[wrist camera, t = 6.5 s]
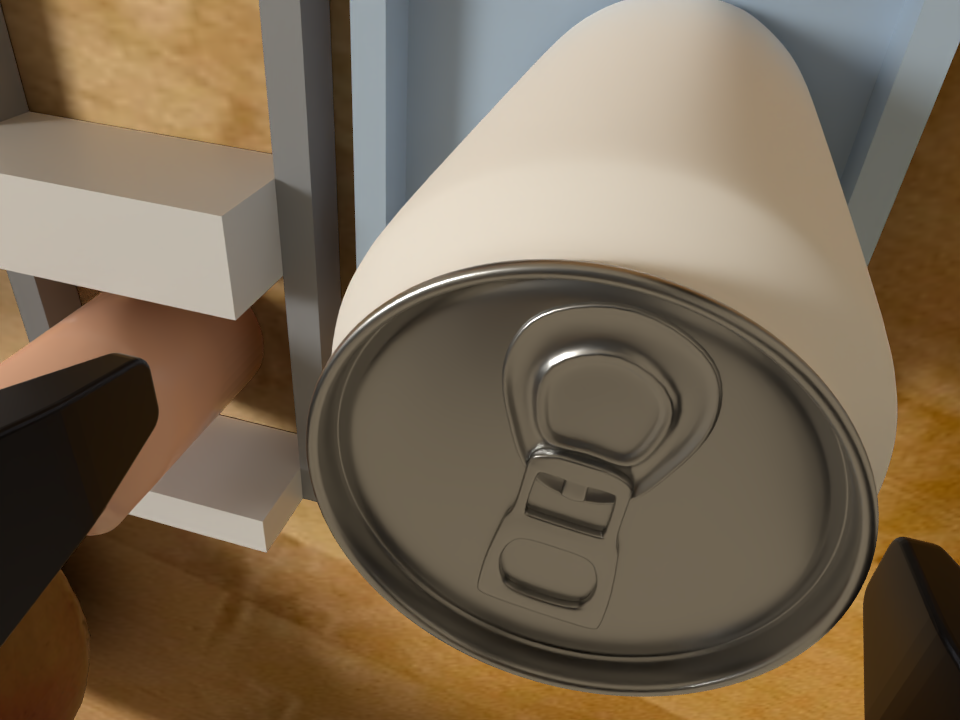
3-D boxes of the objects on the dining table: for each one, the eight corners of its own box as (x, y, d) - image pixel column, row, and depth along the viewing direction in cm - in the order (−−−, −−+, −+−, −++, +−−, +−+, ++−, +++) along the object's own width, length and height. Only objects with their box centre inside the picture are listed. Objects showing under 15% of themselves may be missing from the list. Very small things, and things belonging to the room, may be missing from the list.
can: (868, 26, 15) (1121, 349, 5) (748, 304, 19) (767, 786, 9) (549, -43, 16) (260, 124, 6) (497, 236, 19) (268, 611, 10)
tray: (987, -113, 14) (1020, -107, 12) (790, 395, 20) (795, 441, 19) (384, -167, 16) (345, -169, 14) (385, 310, 22) (358, 345, 21)
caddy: (279, -1249, 10) (54, -1799, 6) (347, 475, 27) (295, 560, 24) (-358, -1129, 12) (-778, -1507, 8) (87, 409, 29) (6, 480, 25)
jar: (255, 273, 23) (78, 430, 17) (270, 402, 26) (123, 577, 20) (112, 243, 24) (-107, 382, 18) (141, 371, 27) (-39, 529, 21)
